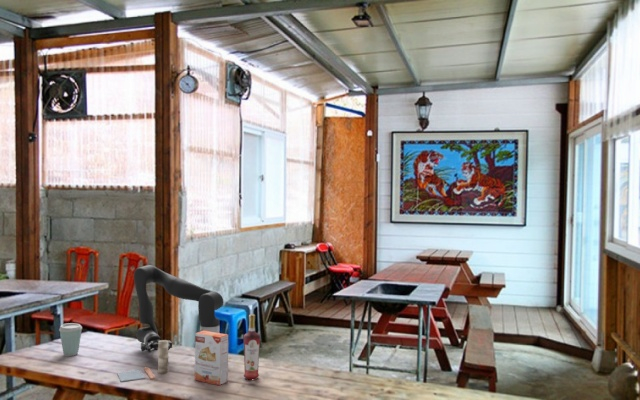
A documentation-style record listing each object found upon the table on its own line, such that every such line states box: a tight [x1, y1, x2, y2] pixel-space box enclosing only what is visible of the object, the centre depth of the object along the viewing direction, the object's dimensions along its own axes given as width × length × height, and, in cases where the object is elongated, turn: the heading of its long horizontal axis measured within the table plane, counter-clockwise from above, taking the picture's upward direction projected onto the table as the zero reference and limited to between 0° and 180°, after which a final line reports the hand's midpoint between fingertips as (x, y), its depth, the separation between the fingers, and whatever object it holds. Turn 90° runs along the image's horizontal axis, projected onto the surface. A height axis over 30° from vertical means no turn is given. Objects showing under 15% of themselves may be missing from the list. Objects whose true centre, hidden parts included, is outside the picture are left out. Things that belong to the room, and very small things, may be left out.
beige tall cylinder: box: [157, 339, 169, 374], centre depth 243 cm, size 4×4×14 cm
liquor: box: [243, 314, 261, 381], centre depth 235 cm, size 7×7×28 cm
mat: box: [116, 369, 146, 383], centre depth 236 cm, size 10×12×1 cm
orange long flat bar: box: [143, 366, 156, 380], centre depth 240 cm, size 2×16×1 cm, turn 28°
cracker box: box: [194, 331, 229, 386], centre depth 231 cm, size 14×6×21 cm, turn 62°
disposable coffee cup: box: [58, 322, 83, 357], centre depth 268 cm, size 11×11×15 cm
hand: (159, 349), depth 251 cm, fingers open, 8 cm apart
